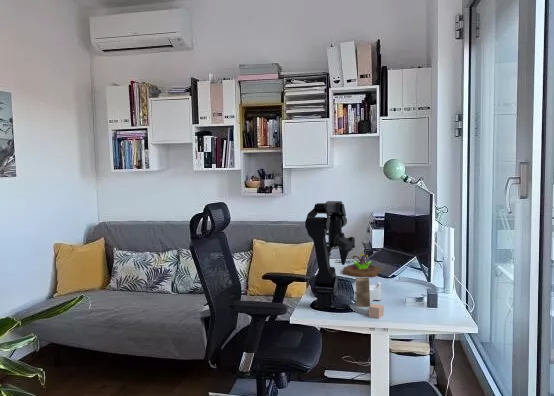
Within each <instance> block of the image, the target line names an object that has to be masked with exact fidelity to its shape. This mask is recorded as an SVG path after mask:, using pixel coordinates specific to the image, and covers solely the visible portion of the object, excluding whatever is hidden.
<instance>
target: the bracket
mask: <svg viewBox="0 0 554 396" xmlns="http://www.w3.org/2000/svg"><path fill="white" fill-rule="evenodd" d="M369 290H370V303H373V302H374V301H376V300H377V301H381V300H382V299H383V298H382V283H381V282H380V281H378V282H377V283H376V284H369Z"/></svg>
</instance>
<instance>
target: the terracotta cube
mask: <svg viewBox="0 0 554 396" xmlns="http://www.w3.org/2000/svg"><path fill="white" fill-rule="evenodd" d="M384 307H385V306H384V305H382V304H378V303H373V304H372V305H371V306H369V314H368V316H369V318H373V319H381V318H383V317H384V315H385V314H384Z"/></svg>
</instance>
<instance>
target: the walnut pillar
mask: <svg viewBox="0 0 554 396" xmlns="http://www.w3.org/2000/svg"><path fill="white" fill-rule="evenodd" d="M369 285H370V277H355V293H356V295H355V296H356V298H355V299H356V303H357V306H370V303H371V302H370V290H369Z"/></svg>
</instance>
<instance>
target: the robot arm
mask: <svg viewBox="0 0 554 396" xmlns="http://www.w3.org/2000/svg"><path fill="white" fill-rule="evenodd" d="M318 214H319V215H321V214H324V215H326V217H325V216H317V215H318ZM346 216H347V213H346V208H345V204H344V203H343V201H342V200H328V201H326V202H319V203H318V202H317V203H315V204H314V207H313V209H311V210H310V211H309V212H308V213H307V215H306V218H305V221H304V227H305V229H306V232H307V236H309V237H310V238H311V239H312V241H313V245H314V251H315V257H316V263H317V268H318V270H317V272H316V275H315V277H314V280H313V281H314V282H313V288H312V292H313V294H316V305H317V306H316V305H314V308H315V309H318V308H319V310H321V311H324V312H327V311H330V310H329V309H328V308H329V307H330V306H331V305H332V303H333V301H334V302H335V295H336V293H337V292H338V283H339V282H338V281H339V280H338V276H337V274H336V268H335V266H331V265H330V264H331V263H330V256H331V255H332V253H331V252H332V250H336V249H337V250H338V252H339V257H340V262H341V265H342V266H345V264H346V261H347V258H348V255H349V253H350V252H351V251H353V249H355V248H356V243H355V242H356V240H355V237H354V236H349V237H345V233H344V232H343V230H342V228H344V227H345V226H346V225H347V224H348V218H347V217H346ZM326 236H328V239H327V238H326ZM327 240H328V241H327Z"/></svg>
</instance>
